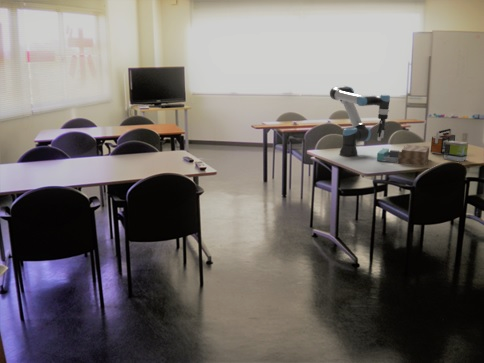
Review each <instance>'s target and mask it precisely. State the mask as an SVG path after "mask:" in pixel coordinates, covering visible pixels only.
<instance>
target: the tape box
mask: <svg viewBox="0 0 484 363" xmlns="http://www.w3.org/2000/svg"><path fill="white" fill-rule="evenodd" d="M399 151H400V150H397V149H396V150H395V149H389V152H390V156H389V157H393V158H398V157H399Z"/></svg>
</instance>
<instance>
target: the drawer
mask: <svg viewBox="0 0 484 363" xmlns="http://www.w3.org/2000/svg"><path fill="white" fill-rule="evenodd" d="M389 156H390V149H389V148H384V147H383V148H381V149H380V150H379V151H378V152H377V155H376V161H379V162H392V163H398V158H393V157H389Z"/></svg>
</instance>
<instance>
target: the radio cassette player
mask: <svg viewBox="0 0 484 363" xmlns="http://www.w3.org/2000/svg"><path fill="white" fill-rule="evenodd" d="M455 139H456V134H452V128H447V129H442V130H439V131H436V135H435V136H432V137H431V141H430V142H431V146H430V153H431V154H437V155H440V154H441V155H443V154H444V152H445V143H446V142H448V141H456V140H455Z"/></svg>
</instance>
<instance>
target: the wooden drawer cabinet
mask: <svg viewBox="0 0 484 363" xmlns="http://www.w3.org/2000/svg"><path fill="white" fill-rule="evenodd" d="M430 148H431V146H428V145H417V144H415V145H414V144H406V145H405V146H403V148H402V150H401V151H400V150H398V151H399V157H398V162H397V164H401V165H402V164H403V165H411V166H419V167H420V166H421V167H422V166H423V167H424V166H425V165H426V164H427V163H428V161H429V155H430Z"/></svg>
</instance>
